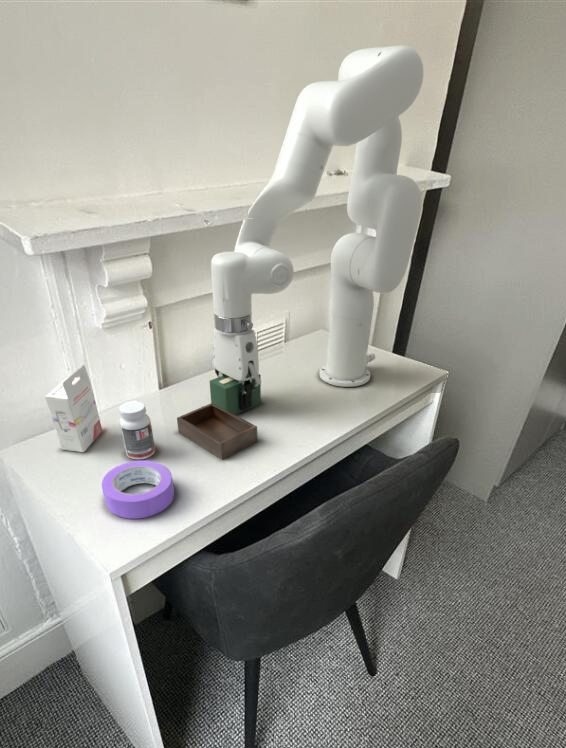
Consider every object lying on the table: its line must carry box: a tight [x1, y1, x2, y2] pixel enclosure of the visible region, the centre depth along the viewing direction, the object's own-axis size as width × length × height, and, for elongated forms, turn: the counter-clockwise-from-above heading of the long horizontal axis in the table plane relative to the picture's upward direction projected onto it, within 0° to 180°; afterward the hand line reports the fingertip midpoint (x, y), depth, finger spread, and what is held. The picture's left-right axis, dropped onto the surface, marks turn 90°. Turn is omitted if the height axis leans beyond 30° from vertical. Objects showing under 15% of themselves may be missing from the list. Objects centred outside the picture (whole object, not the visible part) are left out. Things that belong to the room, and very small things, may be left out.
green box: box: [209, 373, 262, 416], centre depth 109 cm, size 10×6×7 cm, turn 134°
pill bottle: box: [118, 400, 156, 461], centre depth 94 cm, size 6×6×10 cm
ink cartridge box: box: [44, 364, 103, 453], centre depth 95 cm, size 9×5×15 cm, turn 168°
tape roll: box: [101, 460, 175, 520], centre depth 85 cm, size 12×12×4 cm
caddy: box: [176, 402, 258, 460], centre depth 100 cm, size 9×14×4 cm
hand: (236, 402), depth 111 cm, fingers closed on green box, 5 cm apart
